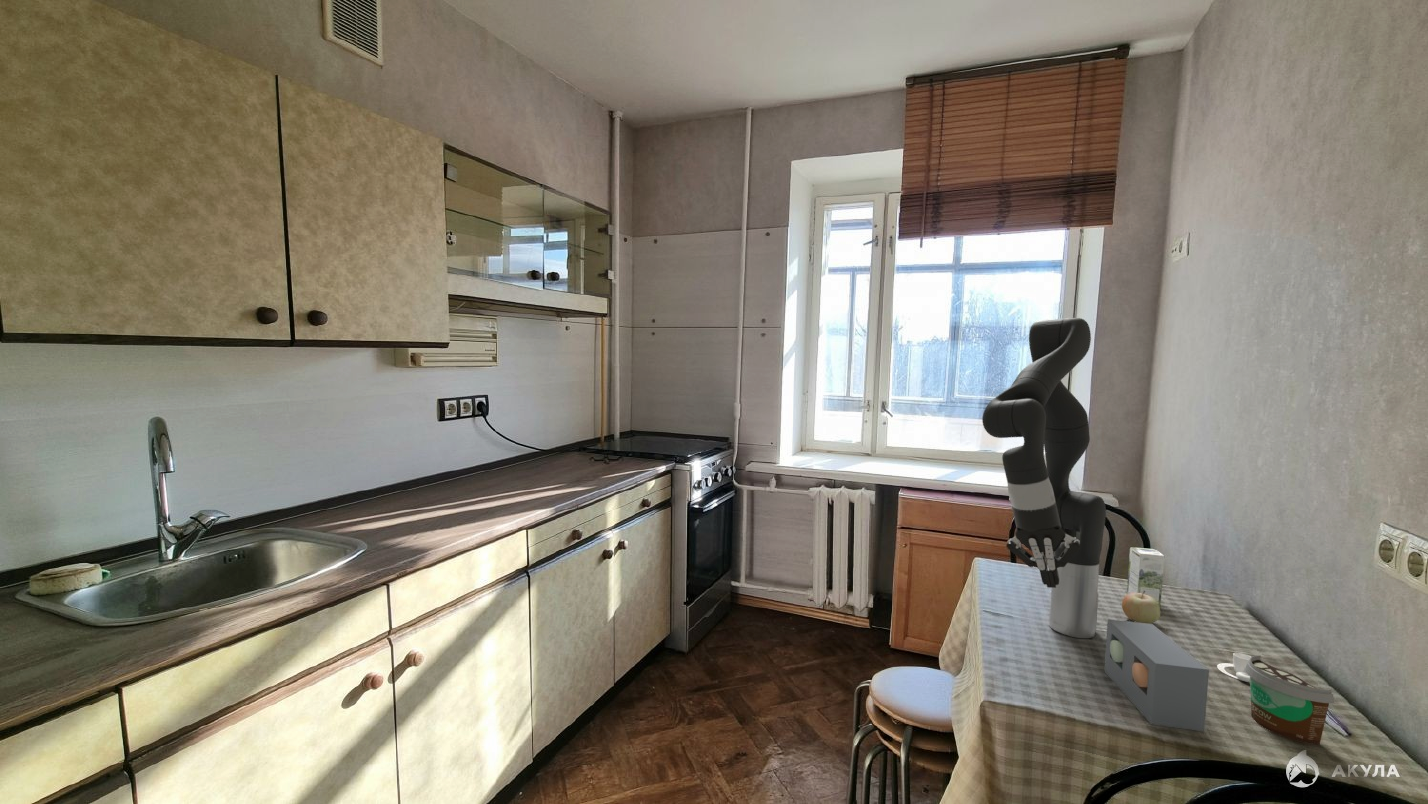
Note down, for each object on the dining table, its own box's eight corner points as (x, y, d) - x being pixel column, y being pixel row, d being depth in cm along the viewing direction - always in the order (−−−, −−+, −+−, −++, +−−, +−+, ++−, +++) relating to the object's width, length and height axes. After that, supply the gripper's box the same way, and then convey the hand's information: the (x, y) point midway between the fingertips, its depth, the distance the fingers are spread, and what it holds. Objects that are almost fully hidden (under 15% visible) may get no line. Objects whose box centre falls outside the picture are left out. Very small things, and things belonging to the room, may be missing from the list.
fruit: (1147, 616, 144) (1149, 585, 143) (1165, 629, 137) (1167, 597, 136) (1114, 613, 145) (1116, 583, 145) (1130, 626, 138) (1132, 594, 137)
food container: (1222, 706, 105) (1226, 654, 104) (1252, 705, 105) (1257, 653, 105) (1296, 751, 92) (1301, 692, 92) (1330, 749, 93) (1335, 691, 92)
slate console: (1151, 724, 99) (1155, 663, 98) (1104, 671, 116) (1107, 619, 116) (1204, 731, 97) (1209, 669, 96) (1148, 676, 115) (1152, 623, 114)
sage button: (1118, 665, 110) (1120, 645, 110) (1109, 655, 114) (1110, 636, 113) (1142, 668, 109) (1143, 648, 109) (1131, 658, 113) (1133, 638, 113)
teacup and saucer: (1260, 691, 111) (1262, 671, 111) (1209, 672, 118) (1210, 653, 117) (1275, 679, 116) (1276, 660, 115) (1224, 661, 122) (1226, 643, 122)
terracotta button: (1142, 690, 101) (1144, 669, 101) (1131, 679, 105) (1132, 658, 105) (1168, 694, 100) (1169, 672, 100) (1155, 682, 104) (1157, 661, 104)
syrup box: (1149, 599, 155) (1153, 548, 154) (1161, 608, 149) (1165, 554, 148) (1125, 597, 156) (1129, 546, 155) (1136, 606, 150) (1140, 552, 149)
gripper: (1073, 491, 107) (1092, 577, 108) (997, 496, 115) (1016, 576, 116) (1072, 506, 101) (1092, 596, 102) (992, 510, 109) (1011, 594, 110)
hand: (1051, 585), depth 109 cm, fingers closed
